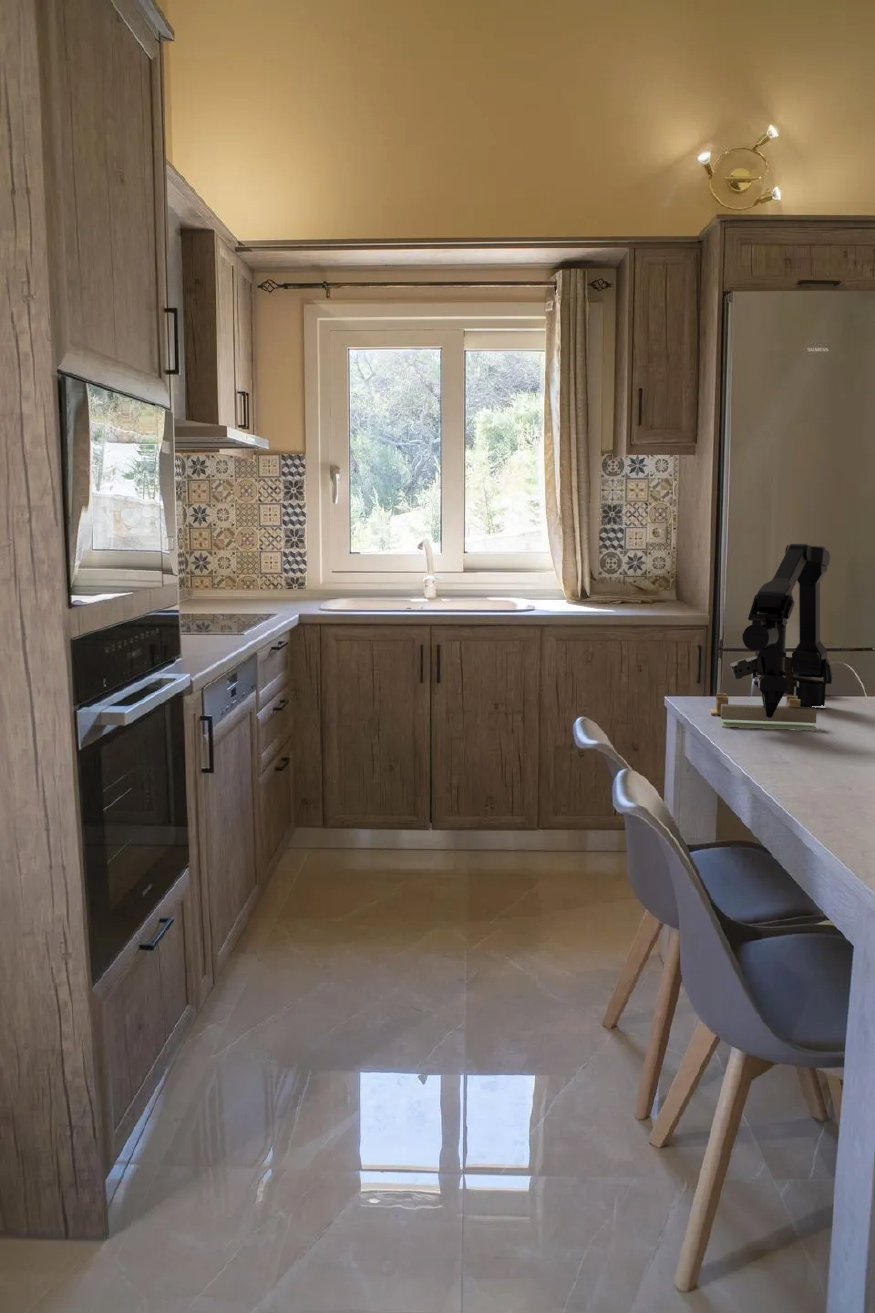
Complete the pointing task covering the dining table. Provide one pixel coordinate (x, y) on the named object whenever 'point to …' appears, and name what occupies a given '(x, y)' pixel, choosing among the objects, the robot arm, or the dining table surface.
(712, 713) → the rack
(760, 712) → the rail
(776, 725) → the mat
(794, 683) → the coffee mug
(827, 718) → the dining table surface
